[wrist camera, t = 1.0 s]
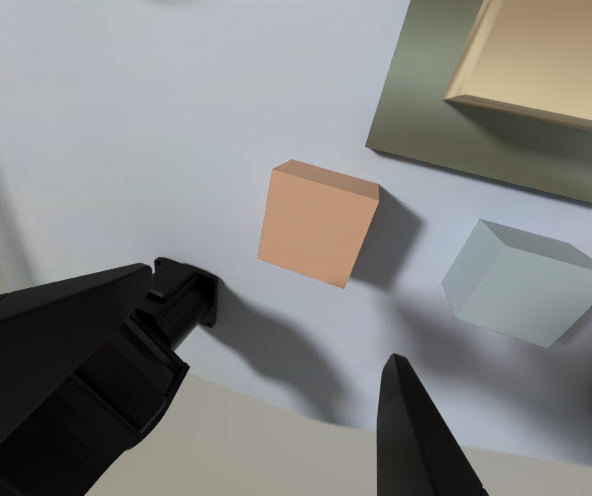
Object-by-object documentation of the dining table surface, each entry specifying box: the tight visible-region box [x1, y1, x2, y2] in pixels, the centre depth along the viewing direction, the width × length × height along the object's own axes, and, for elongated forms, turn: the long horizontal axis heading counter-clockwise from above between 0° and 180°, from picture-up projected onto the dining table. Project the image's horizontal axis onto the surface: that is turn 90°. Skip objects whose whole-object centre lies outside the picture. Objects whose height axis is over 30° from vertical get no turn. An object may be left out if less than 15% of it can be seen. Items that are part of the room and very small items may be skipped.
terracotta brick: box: [257, 159, 379, 289], centre depth 17 cm, size 6×6×4 cm
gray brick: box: [442, 219, 592, 349], centre depth 15 cm, size 5×5×4 cm
